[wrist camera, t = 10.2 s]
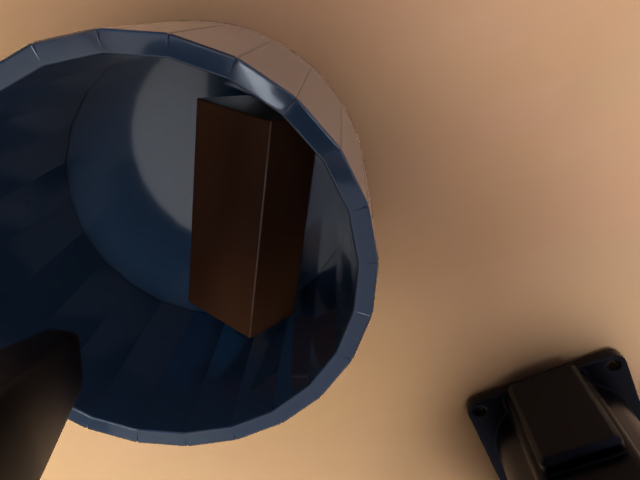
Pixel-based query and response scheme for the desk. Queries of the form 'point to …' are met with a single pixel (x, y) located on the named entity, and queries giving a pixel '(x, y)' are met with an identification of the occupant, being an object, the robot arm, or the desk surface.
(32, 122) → the dark grey round bowl
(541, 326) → the desk surface
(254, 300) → the dark rectangular block
